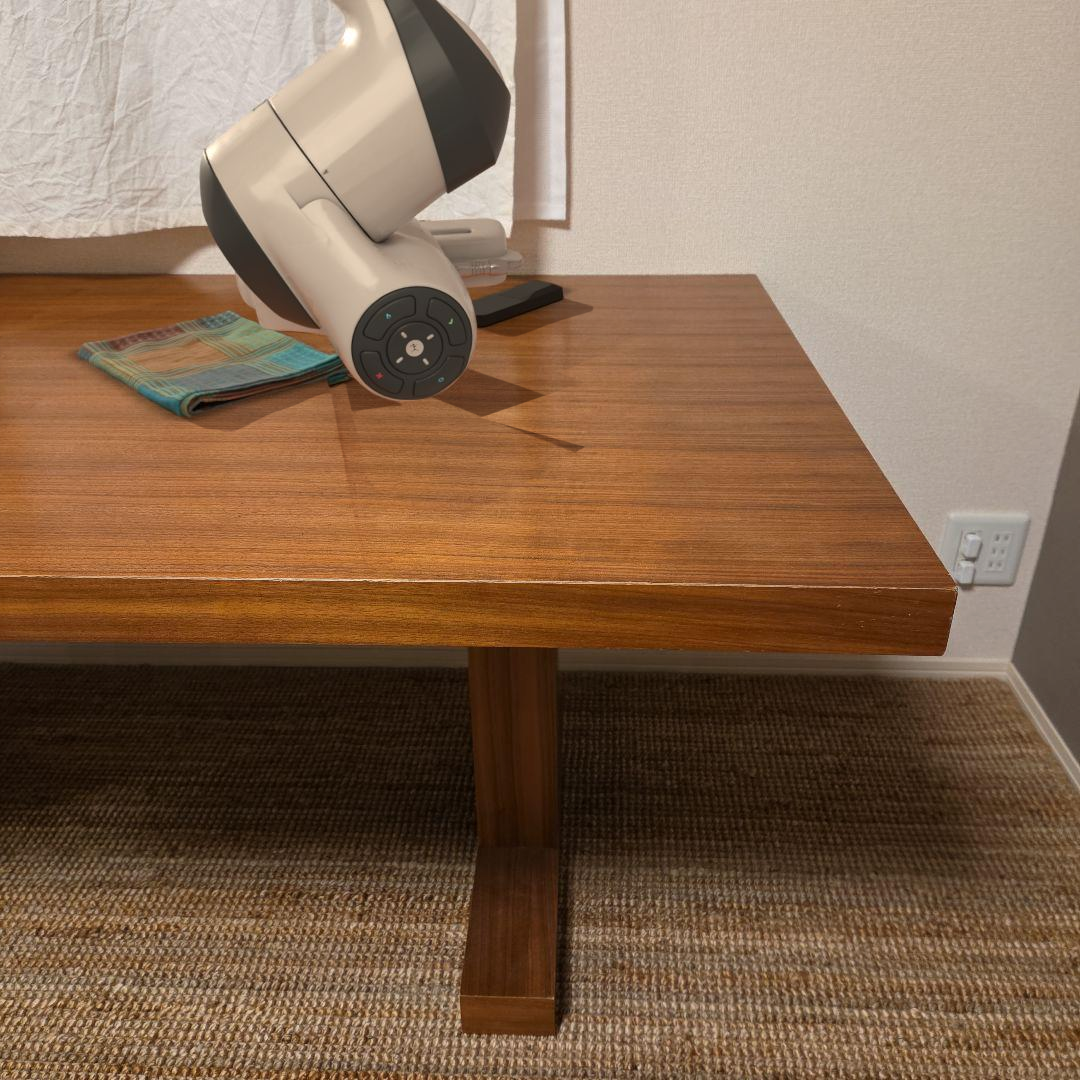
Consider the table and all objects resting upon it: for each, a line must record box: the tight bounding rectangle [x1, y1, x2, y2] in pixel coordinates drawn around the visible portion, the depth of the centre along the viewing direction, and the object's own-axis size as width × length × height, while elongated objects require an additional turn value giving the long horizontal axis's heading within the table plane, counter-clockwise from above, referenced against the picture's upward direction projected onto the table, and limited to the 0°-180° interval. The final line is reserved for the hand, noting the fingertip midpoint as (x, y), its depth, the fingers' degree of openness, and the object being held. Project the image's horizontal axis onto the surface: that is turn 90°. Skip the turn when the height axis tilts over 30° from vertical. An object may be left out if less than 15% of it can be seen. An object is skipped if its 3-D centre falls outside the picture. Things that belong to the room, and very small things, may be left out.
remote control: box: [471, 279, 565, 328], centre depth 114 cm, size 5×2×15 cm
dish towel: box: [77, 310, 351, 418], centre depth 96 cm, size 17×23×2 cm
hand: (363, 233), depth 81 cm, fingers open, 8 cm apart
